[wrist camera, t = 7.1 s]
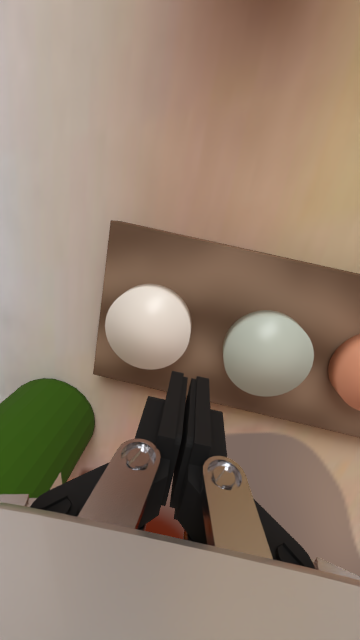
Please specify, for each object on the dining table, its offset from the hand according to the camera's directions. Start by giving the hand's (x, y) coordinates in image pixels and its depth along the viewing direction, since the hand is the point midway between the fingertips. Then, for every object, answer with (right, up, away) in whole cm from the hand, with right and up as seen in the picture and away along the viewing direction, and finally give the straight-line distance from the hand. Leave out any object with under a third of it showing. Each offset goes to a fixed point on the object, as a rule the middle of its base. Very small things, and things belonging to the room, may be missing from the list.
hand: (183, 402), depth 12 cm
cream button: (-2, +3, +9) cm, 10 cm away
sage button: (+6, +1, +8) cm, 10 cm away
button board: (+6, +3, +12) cm, 14 cm away
